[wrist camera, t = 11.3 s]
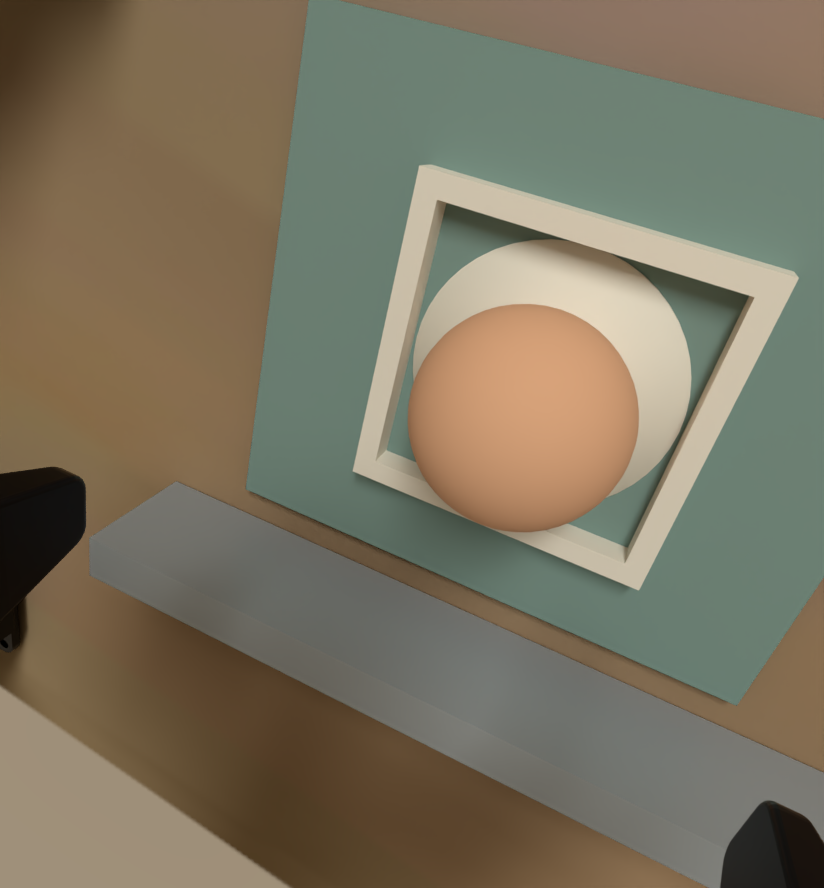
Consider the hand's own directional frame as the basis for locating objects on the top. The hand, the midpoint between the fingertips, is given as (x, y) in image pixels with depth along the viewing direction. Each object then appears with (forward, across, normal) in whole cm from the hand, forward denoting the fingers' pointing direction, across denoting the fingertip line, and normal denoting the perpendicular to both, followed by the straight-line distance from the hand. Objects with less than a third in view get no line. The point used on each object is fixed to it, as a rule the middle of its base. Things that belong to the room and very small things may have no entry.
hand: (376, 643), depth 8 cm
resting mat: (+11, 0, 0) cm, 11 cm away
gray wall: (+11, -1, +9) cm, 14 cm away
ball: (+8, 0, 0) cm, 8 cm away
